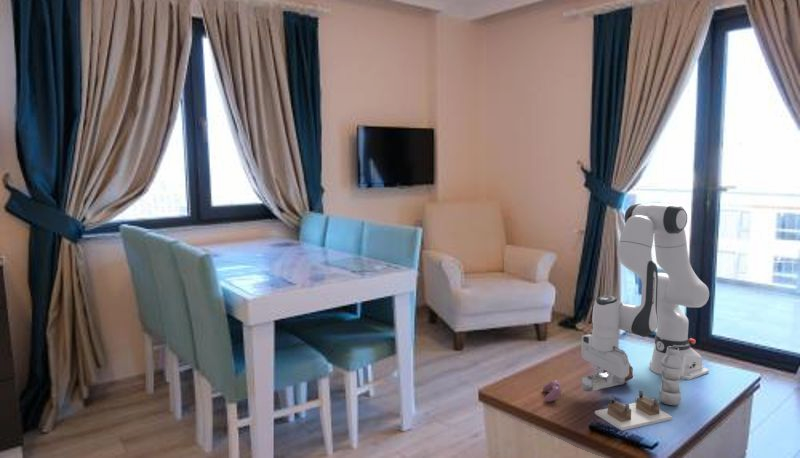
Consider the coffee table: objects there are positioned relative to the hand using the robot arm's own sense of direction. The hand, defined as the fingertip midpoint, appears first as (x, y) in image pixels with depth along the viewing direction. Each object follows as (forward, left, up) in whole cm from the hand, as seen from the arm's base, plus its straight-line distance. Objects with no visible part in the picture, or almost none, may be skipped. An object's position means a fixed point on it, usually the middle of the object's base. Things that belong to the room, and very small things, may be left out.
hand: (603, 379), depth 188 cm
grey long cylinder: (0, 0, -2) cm, 2 cm away
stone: (-14, -7, -7) cm, 17 cm away
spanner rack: (+1, +15, -7) cm, 16 cm away
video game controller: (+17, -7, -7) cm, 19 cm away
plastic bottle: (-18, +12, -7) cm, 23 cm away
